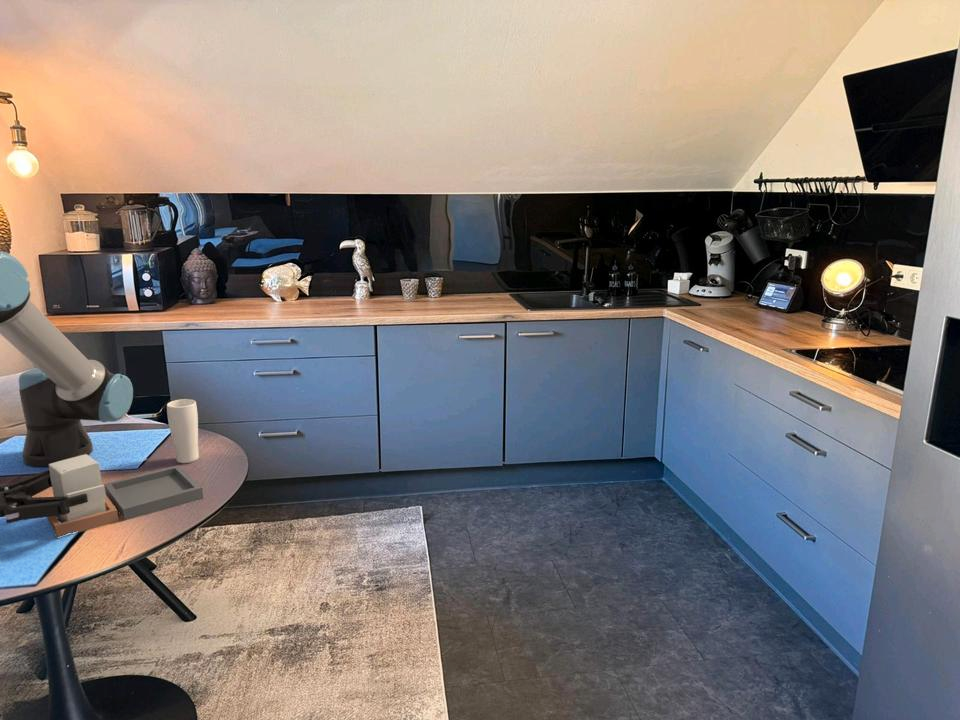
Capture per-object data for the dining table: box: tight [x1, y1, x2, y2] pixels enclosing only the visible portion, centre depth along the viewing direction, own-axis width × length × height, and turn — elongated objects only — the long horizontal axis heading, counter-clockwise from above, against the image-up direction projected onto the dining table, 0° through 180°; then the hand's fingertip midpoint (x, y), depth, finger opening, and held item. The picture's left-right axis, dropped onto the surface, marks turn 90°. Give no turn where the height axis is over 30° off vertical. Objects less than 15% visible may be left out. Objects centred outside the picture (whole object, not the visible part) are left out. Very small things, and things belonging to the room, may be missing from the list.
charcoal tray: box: [103, 464, 204, 521], centre depth 151 cm, size 16×16×2 cm
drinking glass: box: [166, 398, 200, 464], centre depth 169 cm, size 7×7×15 cm
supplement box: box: [48, 454, 106, 523], centre depth 139 cm, size 7×7×13 cm
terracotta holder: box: [46, 496, 119, 539], centre depth 141 cm, size 11×11×2 cm
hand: (97, 481), depth 141 cm, fingers open, 12 cm apart
